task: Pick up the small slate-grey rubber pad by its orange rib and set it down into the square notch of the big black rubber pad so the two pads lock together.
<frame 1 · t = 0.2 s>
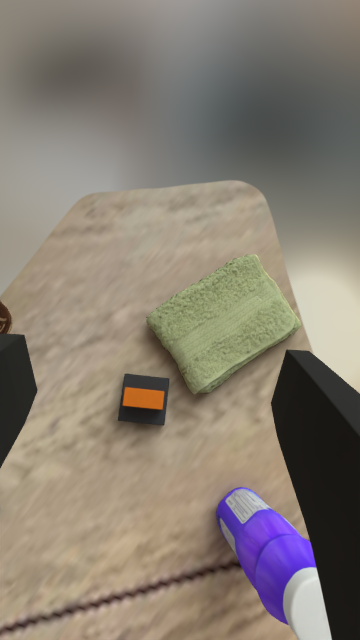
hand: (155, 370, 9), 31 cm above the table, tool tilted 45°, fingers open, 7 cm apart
connector pad: (144, 399, 39), on the table
washcloth: (222, 322, 43), on the table
bottle: (243, 518, 36), on the table
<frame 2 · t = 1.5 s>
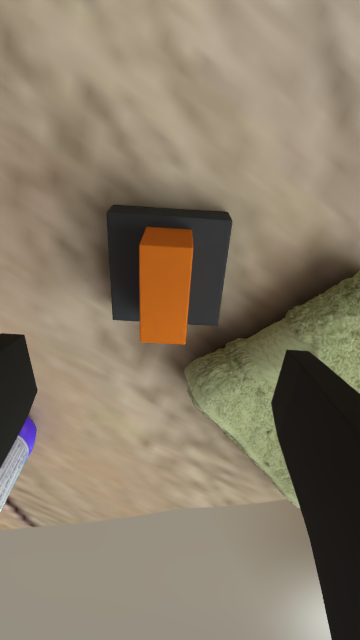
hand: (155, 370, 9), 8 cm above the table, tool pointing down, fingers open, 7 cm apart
connector pad: (168, 263, 16), on the table
washcloth: (327, 399, 21), on the table
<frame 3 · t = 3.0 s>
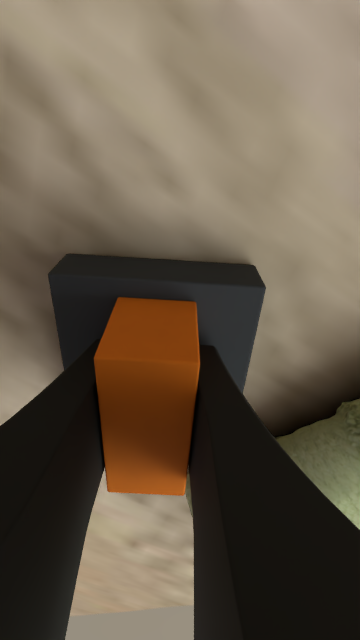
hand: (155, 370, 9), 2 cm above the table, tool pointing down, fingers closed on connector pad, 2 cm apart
connector pad: (159, 336, 10), on the table, touching gripper
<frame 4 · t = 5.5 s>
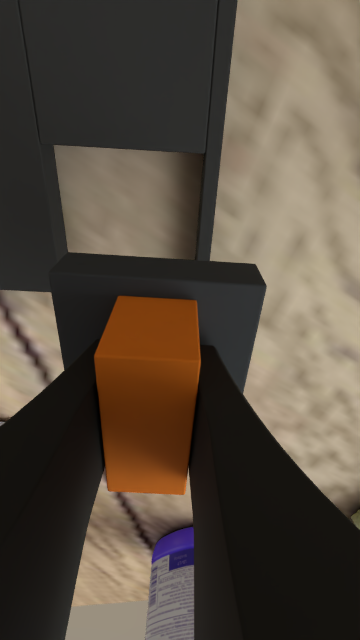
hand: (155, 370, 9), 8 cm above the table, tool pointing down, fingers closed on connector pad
connector pad: (159, 335, 10), point 7 cm above the table, touching gripper
base pad: (27, 124, 13), on the table
bottle: (188, 537, 31), on the table
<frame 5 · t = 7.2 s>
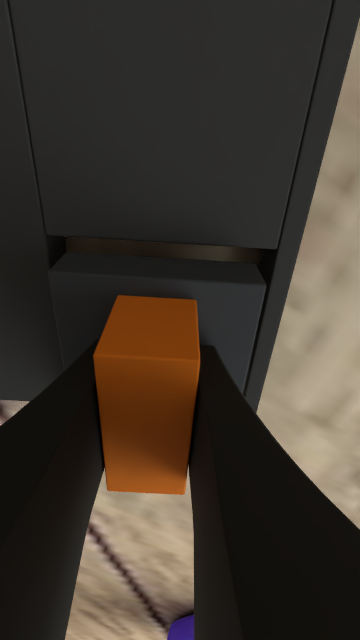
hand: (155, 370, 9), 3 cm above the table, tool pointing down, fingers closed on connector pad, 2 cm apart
connector pad: (159, 335, 10), point 1 cm above the table, touching gripper
base pad: (27, 200, 10), on the table
bottle: (207, 617, 27), on the table
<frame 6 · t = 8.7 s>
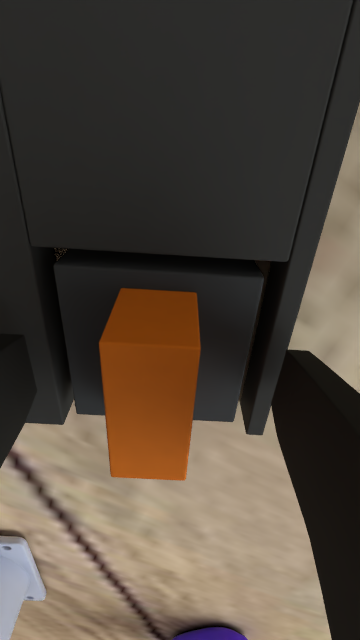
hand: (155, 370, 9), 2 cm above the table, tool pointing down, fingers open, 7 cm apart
connector pad: (160, 328, 11), on the table
base pad: (11, 206, 9), on the table
bottle: (207, 632, 27), on the table
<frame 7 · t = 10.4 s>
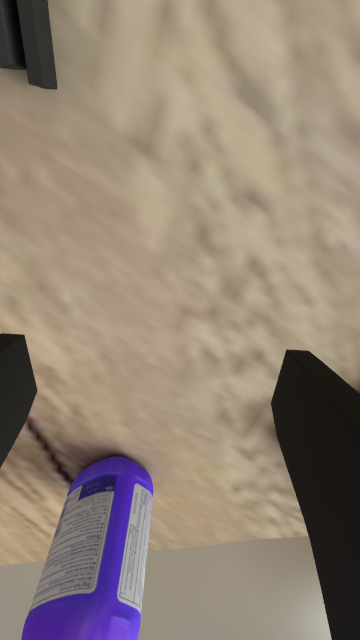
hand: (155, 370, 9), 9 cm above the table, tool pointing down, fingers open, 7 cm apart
bottle: (114, 473, 27), on the table
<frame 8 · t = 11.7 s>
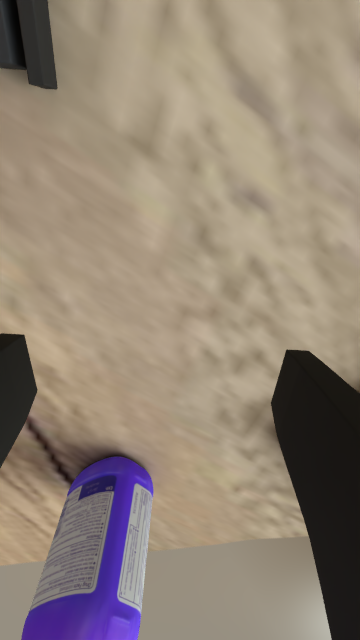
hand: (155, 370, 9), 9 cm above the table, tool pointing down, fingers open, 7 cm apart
bottle: (114, 473, 27), on the table
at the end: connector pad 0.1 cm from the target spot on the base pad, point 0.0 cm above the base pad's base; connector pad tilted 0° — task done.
